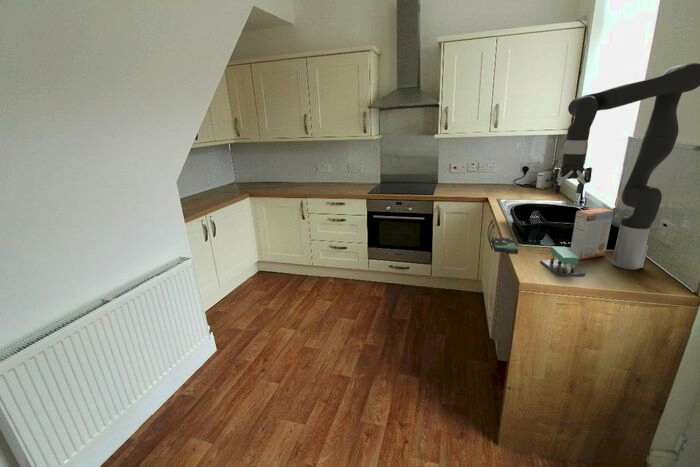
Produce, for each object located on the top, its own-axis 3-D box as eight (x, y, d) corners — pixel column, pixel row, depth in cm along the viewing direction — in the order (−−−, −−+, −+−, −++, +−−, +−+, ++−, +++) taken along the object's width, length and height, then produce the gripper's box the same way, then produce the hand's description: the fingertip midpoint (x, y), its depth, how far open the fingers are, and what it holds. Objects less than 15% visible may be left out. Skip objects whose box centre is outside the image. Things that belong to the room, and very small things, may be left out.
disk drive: (490, 242, 173) (494, 252, 159) (491, 237, 172) (494, 247, 158) (512, 243, 170) (518, 254, 156) (513, 238, 169) (519, 248, 155)
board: (577, 263, 131) (579, 257, 131) (562, 263, 132) (563, 257, 131) (564, 252, 143) (565, 246, 142) (550, 251, 143) (551, 246, 143)
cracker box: (592, 251, 155) (601, 207, 148) (605, 256, 149) (615, 210, 143) (567, 255, 152) (576, 210, 145) (579, 260, 146) (588, 213, 140)
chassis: (564, 261, 145) (566, 250, 144) (584, 276, 132) (587, 264, 131) (540, 262, 146) (542, 251, 144) (558, 276, 133) (560, 264, 131)
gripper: (561, 153, 127) (554, 196, 132) (600, 152, 126) (592, 195, 131) (550, 152, 134) (544, 192, 139) (587, 150, 133) (580, 191, 138)
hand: (567, 193), depth 135 cm, fingers open, 8 cm apart
